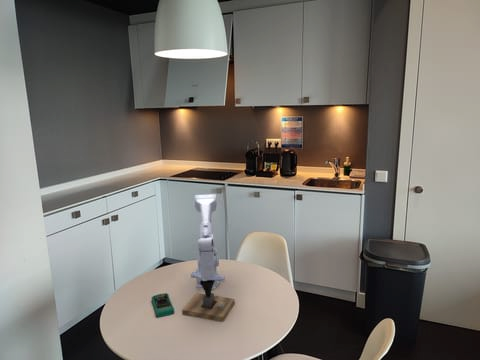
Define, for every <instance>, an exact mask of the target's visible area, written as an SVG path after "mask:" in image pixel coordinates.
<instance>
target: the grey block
mask: <svg viewBox="0 0 480 360" xmlns="http://www.w3.org/2000/svg"><path fill="white" fill-rule="evenodd" d="M204 294H205V293H204ZM214 296H215V293H214V292H211V295H210V296H209V297H208V296H206V294H205V296H204V297H203V308H208V309H212V308H213V307H214V305H215V301H214Z"/></svg>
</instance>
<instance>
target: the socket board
mask: <svg viewBox="0 0 480 360" xmlns="http://www.w3.org/2000/svg"><path fill="white" fill-rule="evenodd" d="M204 296H205V293H201V292H200V293H199V292H196V293H195V294H194V295H193V296H192V298H191V299H189V301H188V302H187V303H186V305H184V307H183V308H182V309H181V314H182V315H186V316H192V317H198V318H202V319H208V320H214V321H219V322H224V321H225V319H226V317H227V316H228V314H229V313H230V311H231V310H232V307H233V306H234V305H235V298H231V297H224V296H219V295H214V301H215V305H214V307H213V308H212V309H208V308H203V297H204Z"/></svg>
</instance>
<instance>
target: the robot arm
mask: <svg viewBox="0 0 480 360" xmlns="http://www.w3.org/2000/svg"><path fill="white" fill-rule="evenodd" d="M194 205H195V206H194V208H195V210H196V212H198V213H200V215H201V222H200V223H199V224H198V225H199V226H198V239H197V250H198V252H197V267H196V269H195V271H192V272H191V273H190V278H191V279H195V282H196V285H195V287H197V288H202V289H203V290H204V294H206V296H208V297H209V296H210V295H211V293H212V290H215V289H216V287H218V285H219V284H220V283H224V282H225V280H226V278H225V276H224V275H221V274H218V272H217V269H218V268H217V267H219V265H220V262H219V259H220V257H219V255H220V254H219V250H218V249H217V248H216V247H215V238H214V229H213V227H214V226H213V224H212V214H213V212H215V211H216V210H217V194H216V193H213V194H209V193H208V194H195V195H194Z"/></svg>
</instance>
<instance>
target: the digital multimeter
mask: <svg viewBox="0 0 480 360" xmlns="http://www.w3.org/2000/svg"><path fill="white" fill-rule="evenodd" d="M151 303H152V304H153V307H154V310H155V315H156V318H160V317H165V316H169V315H173V314H175V308H174V306H173V303H172V301H171V299H170V296H169V293H165V292H164V293H163V292H162V293H158V294H154V295H152V296H151Z"/></svg>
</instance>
